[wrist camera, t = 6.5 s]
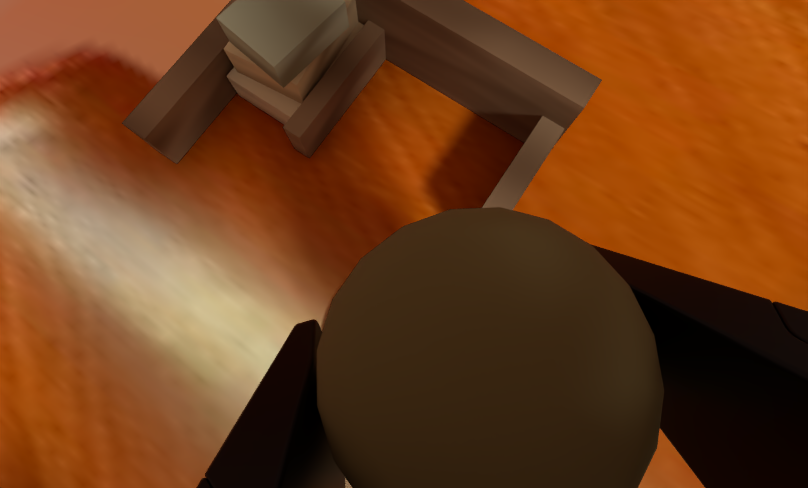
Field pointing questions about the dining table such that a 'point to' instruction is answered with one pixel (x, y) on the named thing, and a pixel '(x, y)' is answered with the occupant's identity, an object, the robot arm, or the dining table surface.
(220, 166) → the dining table surface
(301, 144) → the rack
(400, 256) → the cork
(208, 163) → the dining table surface
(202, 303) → the dining table surface
